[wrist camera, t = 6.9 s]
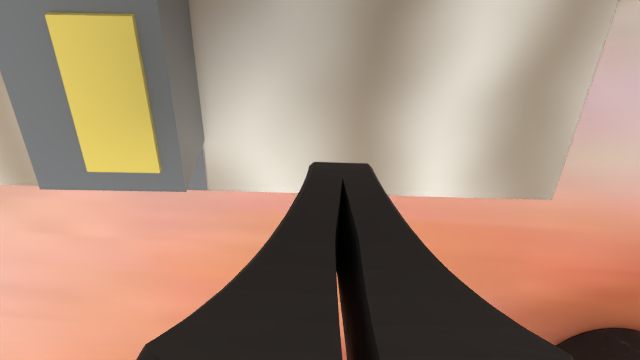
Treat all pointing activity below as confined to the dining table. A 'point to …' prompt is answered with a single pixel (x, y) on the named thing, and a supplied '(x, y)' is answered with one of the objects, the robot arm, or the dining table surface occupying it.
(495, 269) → the dining table surface
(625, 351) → the travel mug
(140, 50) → the block
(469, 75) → the subfloor plank
